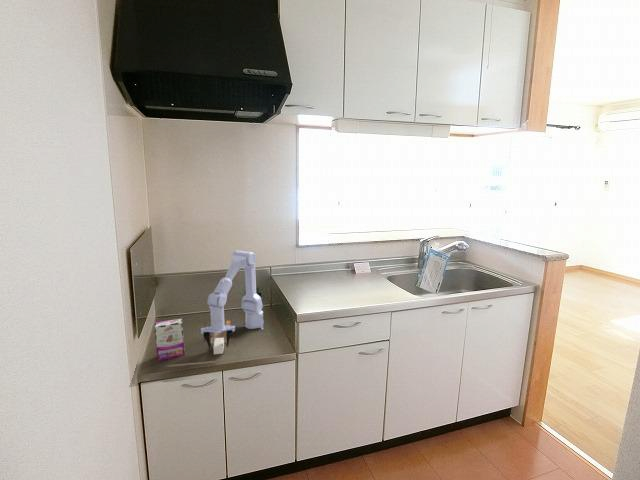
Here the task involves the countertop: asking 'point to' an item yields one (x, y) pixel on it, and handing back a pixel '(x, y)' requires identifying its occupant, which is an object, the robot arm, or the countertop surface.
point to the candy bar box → (169, 339)
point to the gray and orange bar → (236, 324)
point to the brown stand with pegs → (218, 336)
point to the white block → (218, 345)
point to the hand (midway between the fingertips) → (218, 346)
